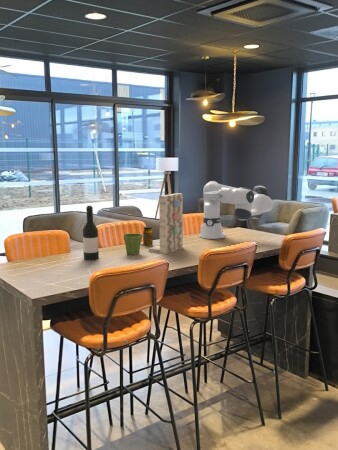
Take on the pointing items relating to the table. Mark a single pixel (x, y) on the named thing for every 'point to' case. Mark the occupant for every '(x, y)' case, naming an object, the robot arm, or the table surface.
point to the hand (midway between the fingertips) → (204, 194)
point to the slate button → (176, 203)
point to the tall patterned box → (169, 224)
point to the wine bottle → (90, 237)
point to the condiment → (147, 237)
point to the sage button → (176, 229)
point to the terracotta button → (176, 216)
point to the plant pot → (132, 243)
